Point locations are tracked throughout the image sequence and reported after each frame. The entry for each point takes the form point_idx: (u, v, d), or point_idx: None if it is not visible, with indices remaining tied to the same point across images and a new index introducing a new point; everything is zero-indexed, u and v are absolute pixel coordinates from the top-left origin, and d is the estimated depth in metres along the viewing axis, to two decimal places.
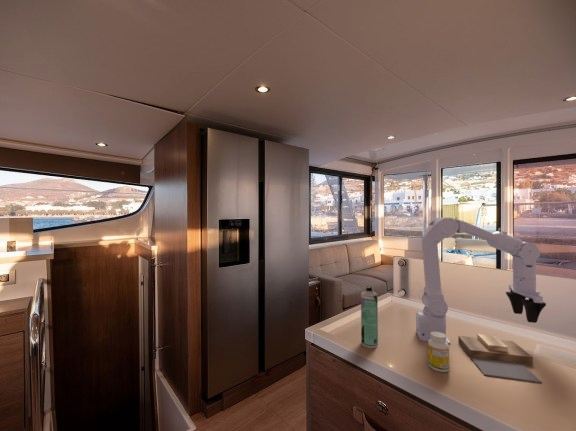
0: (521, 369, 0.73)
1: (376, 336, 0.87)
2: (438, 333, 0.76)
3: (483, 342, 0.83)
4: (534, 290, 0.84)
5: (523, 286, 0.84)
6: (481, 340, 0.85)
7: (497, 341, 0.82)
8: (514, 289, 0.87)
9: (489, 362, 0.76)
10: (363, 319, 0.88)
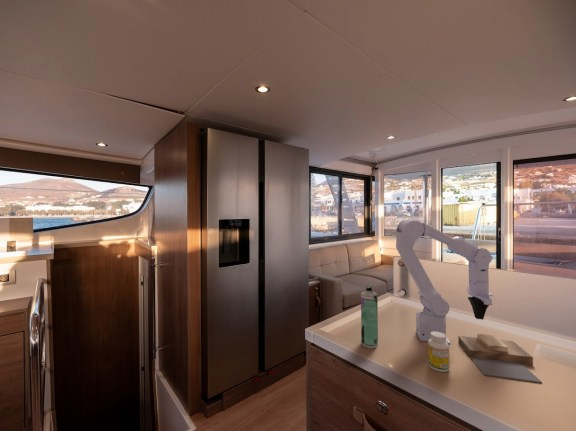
0: (521, 369, 0.73)
1: (376, 336, 0.87)
2: (438, 333, 0.76)
3: (483, 342, 0.83)
4: (486, 293, 0.89)
5: (476, 289, 0.90)
6: (481, 340, 0.85)
7: (497, 341, 0.82)
8: (469, 292, 0.92)
9: (489, 362, 0.76)
10: (363, 319, 0.88)
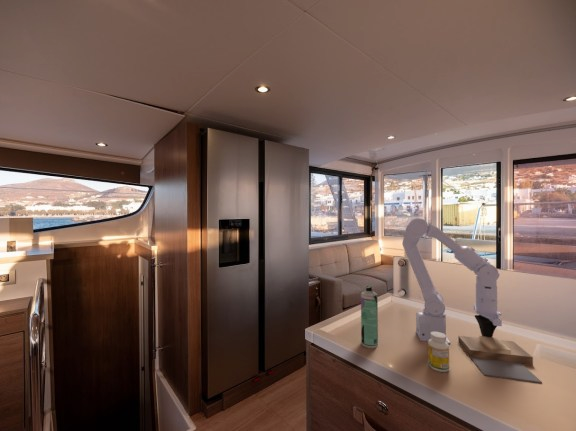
0: (521, 369, 0.73)
1: (376, 336, 0.87)
2: (438, 333, 0.76)
3: (485, 345, 0.81)
4: (495, 312, 0.84)
5: (484, 308, 0.84)
6: (483, 342, 0.83)
7: (500, 344, 0.80)
8: (476, 310, 0.87)
9: (489, 362, 0.76)
10: (363, 319, 0.88)
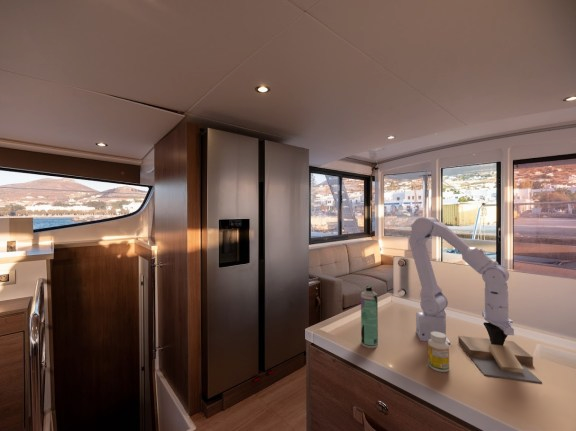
0: None
1: (376, 336, 0.87)
2: (438, 333, 0.76)
3: (495, 358, 0.76)
4: (506, 319, 0.77)
5: (494, 315, 0.78)
6: (493, 353, 0.77)
7: (512, 358, 0.74)
8: (486, 317, 0.80)
9: (489, 362, 0.76)
10: (363, 319, 0.88)
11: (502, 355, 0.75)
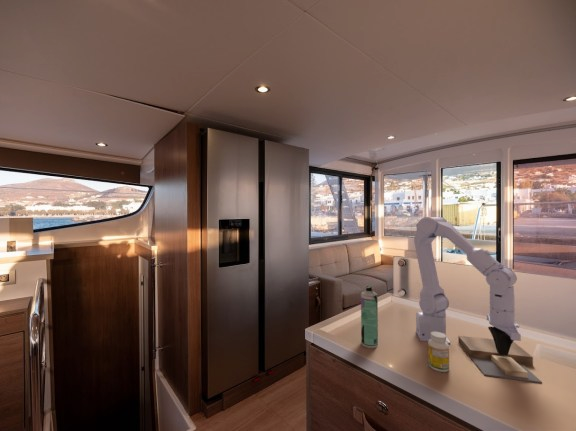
0: None
1: (376, 336, 0.87)
2: (438, 333, 0.76)
3: (499, 365, 0.74)
4: (512, 324, 0.74)
5: (500, 319, 0.75)
6: (496, 362, 0.75)
7: (515, 364, 0.73)
8: (491, 321, 0.77)
9: (489, 362, 0.76)
10: (363, 319, 0.88)
11: (505, 362, 0.74)
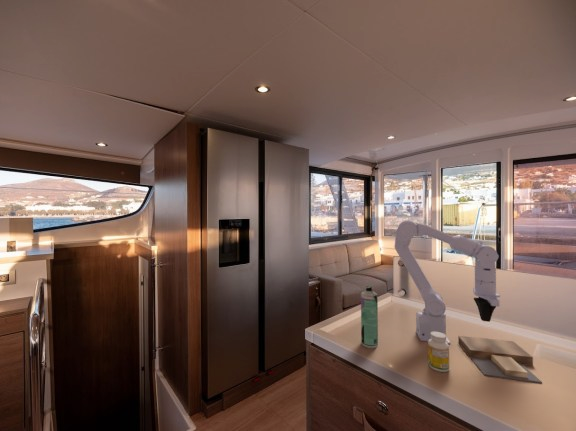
0: None
1: (376, 336, 0.87)
2: (438, 333, 0.76)
3: (499, 365, 0.74)
4: (493, 293, 0.84)
5: (483, 289, 0.85)
6: (496, 362, 0.75)
7: (515, 364, 0.73)
8: (475, 292, 0.87)
9: (489, 362, 0.76)
10: (363, 319, 0.88)
11: (505, 362, 0.74)
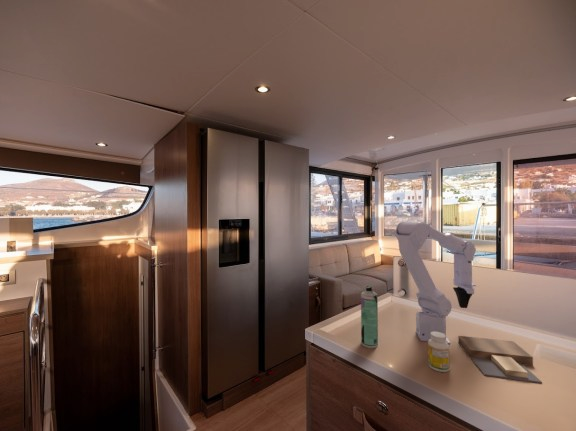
0: None
1: (376, 336, 0.87)
2: (438, 333, 0.76)
3: (499, 365, 0.74)
4: (470, 283, 0.95)
5: (460, 279, 0.96)
6: (496, 362, 0.75)
7: (515, 364, 0.73)
8: (454, 282, 0.98)
9: (489, 362, 0.76)
10: (363, 319, 0.88)
11: (505, 362, 0.74)
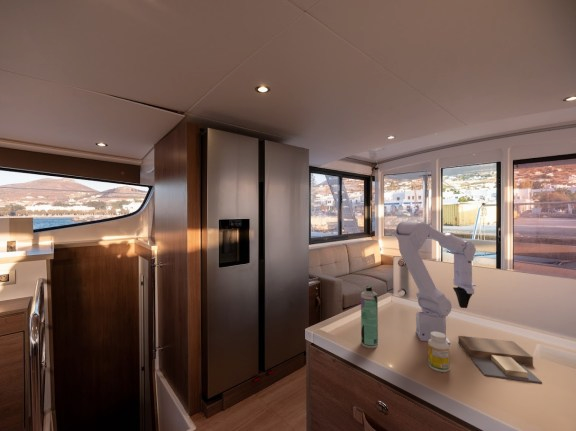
0: None
1: (376, 336, 0.87)
2: (438, 333, 0.76)
3: (499, 365, 0.74)
4: (470, 283, 0.95)
5: (460, 279, 0.96)
6: (496, 362, 0.75)
7: (515, 364, 0.73)
8: (454, 282, 0.98)
9: (489, 362, 0.76)
10: (363, 319, 0.88)
11: (505, 362, 0.74)
